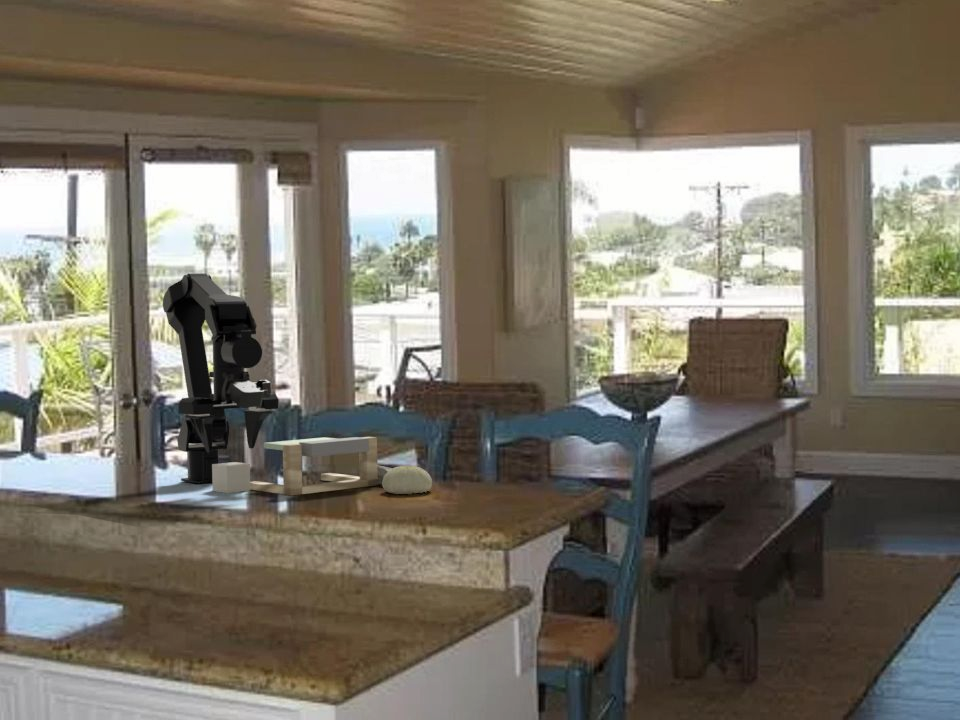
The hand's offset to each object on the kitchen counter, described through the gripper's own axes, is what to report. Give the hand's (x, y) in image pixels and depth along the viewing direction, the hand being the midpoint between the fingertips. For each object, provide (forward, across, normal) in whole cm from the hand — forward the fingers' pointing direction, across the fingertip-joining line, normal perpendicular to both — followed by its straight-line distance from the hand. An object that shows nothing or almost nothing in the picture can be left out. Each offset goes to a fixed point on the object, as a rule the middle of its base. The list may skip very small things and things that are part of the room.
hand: (230, 450), depth 288 cm
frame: (+7, +13, -8) cm, 17 cm away
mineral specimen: (+8, +25, -16) cm, 31 cm away
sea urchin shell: (+8, +20, -27) cm, 35 cm away
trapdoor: (+1, +13, -9) cm, 16 cm away
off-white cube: (+8, 0, 0) cm, 8 cm away
